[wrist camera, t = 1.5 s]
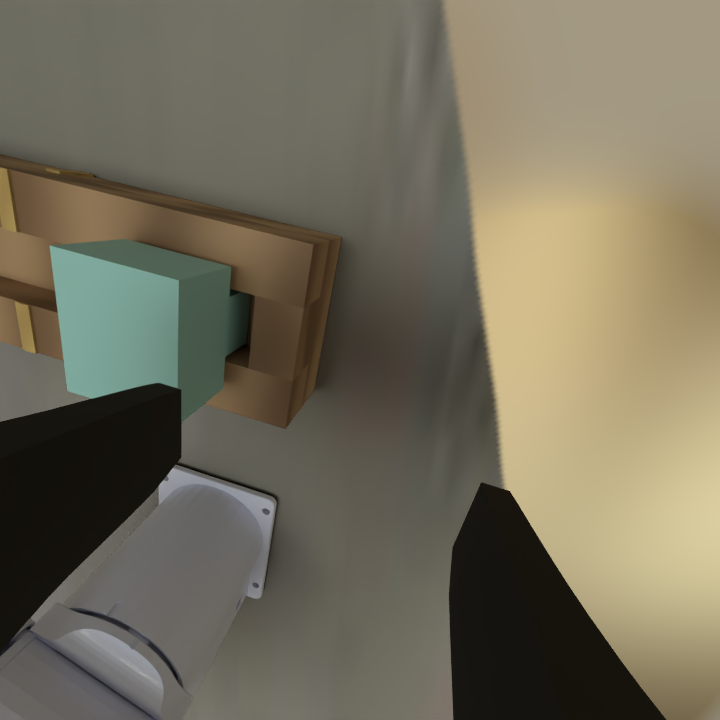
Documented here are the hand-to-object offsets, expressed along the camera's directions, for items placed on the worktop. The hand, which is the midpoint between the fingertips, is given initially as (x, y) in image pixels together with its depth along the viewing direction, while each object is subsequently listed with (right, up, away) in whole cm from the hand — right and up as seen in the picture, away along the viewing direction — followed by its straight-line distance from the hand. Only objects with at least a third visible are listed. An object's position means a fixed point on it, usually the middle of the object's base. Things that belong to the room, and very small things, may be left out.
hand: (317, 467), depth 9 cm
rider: (-6, +5, +8) cm, 11 cm away
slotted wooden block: (-12, +8, +11) cm, 18 cm away
